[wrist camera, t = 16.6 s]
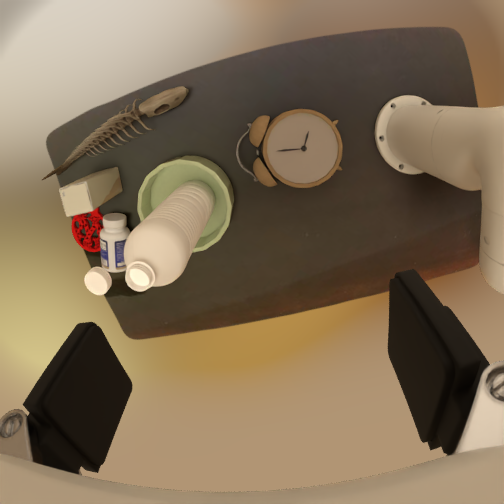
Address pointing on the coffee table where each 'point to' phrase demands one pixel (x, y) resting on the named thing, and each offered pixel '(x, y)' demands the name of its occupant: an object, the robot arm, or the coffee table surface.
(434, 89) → the coffee table surface
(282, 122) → the alarm clock
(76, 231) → the ornament
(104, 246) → the pill bottle
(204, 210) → the plastic bottle and lid
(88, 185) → the box
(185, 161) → the holder
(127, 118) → the fish skeleton
